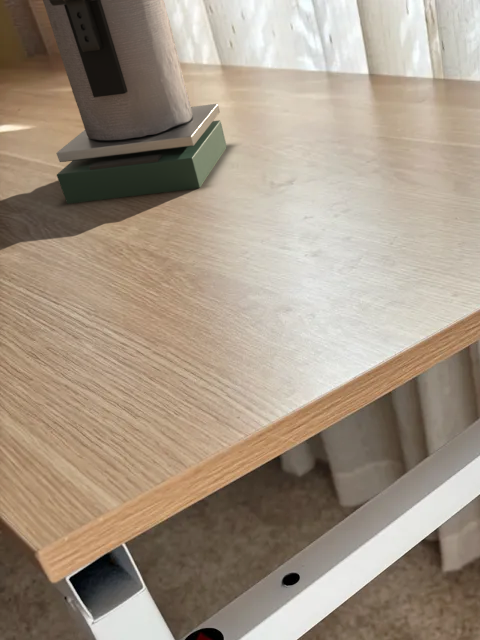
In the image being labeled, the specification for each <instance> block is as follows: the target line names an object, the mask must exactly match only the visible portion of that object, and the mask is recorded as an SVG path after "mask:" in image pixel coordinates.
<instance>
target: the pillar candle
mask: <svg viewBox="0 0 480 640" xmlns="http://www.w3.org/2000/svg"><path fill="white" fill-rule="evenodd" d="M42 2H43V5H44V8H45V11H46V14H47V17H48V21H49V24H50V27H51V29H52V33H53V37H54V39H55V42H56V45H57V49H58V51H59V55H60V57H61V60H62V64H63V68H64V70H65V73H66V76H67V79H68V82H69V85H70V88H71V92H72V95H73V98H74V101H75V103H76V106H77V109H78V112H79V115H80V118H81V121H82V124H83V128H84V130H85V131H86V134H87V136H88V137H89V138H90V139H97V140H122V139H129V138H136V137H143V136H146V135H153V134H157V133H160V132H162V131H166V130H168V129H170V128H172V127H174V126H177V125H180V124H183V123H186V122H188V121H190V120H191V118H192V110H191V107H192V106H191V101H190V98H189V94H188V91H187V87H186V83H185V78H184V75H183V70H182V67H181V62H180V58H179V54H178V51H177V50H178V49H177V46H176V42H175V38H174V34H173V29H172V26H171V22H170V19H169V15H168V12H167V8H166V4H165V0H101V3H102V7H103V10H104V13H105V17H106V20H107V24H108V27H109V30H110V34H111V37H112V40H113V44H114V47H115V51H116V54H117V57H118V61H119V64H120V67H121V71H122V74H123V77H124V81H125V84H126V88H127V91H128V92H126V93H124V94H117V95H109V96H101V97H94V96H93V93H92V90H91V87H90V84H89V81H88V78H87V75H86V72H85V69H84V65H83V62H82V59H81V56H80V53H79V50H78V47H77V44H76V41H75V38H74V34H73V31H72V28H71V25H70V22H69V19H68V16H67V13H66V10H65V6H64V5H65V4H64V5H57V6H53V5H52V4H51V3H50V1H49V0H42Z"/></svg>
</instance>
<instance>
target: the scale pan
mask: <svg viewBox="0 0 480 640" xmlns="http://www.w3.org/2000/svg"><path fill="white" fill-rule="evenodd" d="M191 110H192V118H191V120H190V121H188V122H186V123H183V124H180V125H177V126H174V127H172V128H170V129H168V130H166V131H162V132H160V133H157V134H153V135H146V136H143V137H136V138H129V139H122V140H97V139H90V138H89V137H88V136H87V134H86V131H85V129H83V130H82V131H81V132H80V133H79V134H77V135H76V136H74V138H73V139H72V140H70V141H69V142H67V144H65V145H64V146H63V147H61V148H60V149H59V150H58V151H57V152H56V157H57V160H58V162H59V163H65V162H72V161H75V160H83V159H91V158H99V157H107V156H115V155H123V154H132V153H140V152H148V151H156V150H164V149H172V148H180V147H188V146H194V145H195V143H196V142H197V141H198V139H199V138H200V137H201V136H202V134H203V133H204V132H205V131H206V129H207V128H208V127H209V125H210V124H211V123H212V122H213V121H215V120H216V118H217V117H218V115H219V114H220V113H221V111H220V110H221V109H220V106H219V104H218V103H212V104H211V103H210V104H202V105H196V106H191Z"/></svg>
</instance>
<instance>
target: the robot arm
mask: <svg viewBox="0 0 480 640" xmlns="http://www.w3.org/2000/svg"><path fill="white" fill-rule="evenodd" d="M49 1H50V3H51V4H52V5H53V6H57V5H64V4H65V5H64V6H65V10H66V13H67V16H68V19H69V22H70V25H71V28H72V31H73V34H74V38H75V41H76V44H77V47H78V50H79V53H80V56H81V59H82V62H83V65H84V69H85V72H86V75H87V78H88V81H89V84H90V87H91V90H92V93H93V96H94V97H101V96H109V95H117V94H124V93H126V92H128V91H127V88H126V84H125V81H124V77H123V74H122V71H121V67H120V64H119V61H118V57H117V54H116V51H115V47H114V44H113V40H112V37H111V34H110V30H109V27H108V24H107V20H106V17H105V13H104V10H103V7H102V3H101V0H49Z"/></svg>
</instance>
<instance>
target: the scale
mask: <svg viewBox="0 0 480 640" xmlns="http://www.w3.org/2000/svg"><path fill="white" fill-rule="evenodd" d="M225 137H226V136H225V134H224V129H223V125H222V120H219V119H218V120H213V122H212V123H211V124H210V125H209V127H208V128H207V129H206V131H205V132H204V133H203V134H202V136H201V137H200V138H199V139H198V141H197V142H196V143H195V145H194V146H188V147H180V148H172V149H164V150H156V151H148V152H140V153H132V154H123V155H115V156H107V157H99V158H91V159H83V160H75V161H69V163H68V164H66V166H65V167H64V168H62V169H61V170H60V171H59V172H58V173H56V179H57V180H58V183H59V186H60V189H61V191H62V193H63V197H64V199H65V202H66V204H67V205H70V204H78V203H86V202H87V203H88V202H95V201H102V200H104V201H105V200H112V199H118V198H119V199H120V198H129V197H137V196H144V195H145V196H146V195H153V194H162V193H170V192H171V193H172V192H179V191H187V190H196V189H201V187H202V186H203V184H204V183H205V181H206V180H207V178H208V176H209V175H210V174H211V172H212V170H213V169H214V168H215V166H216V165H217V163H218V162H219V160H220V159H221V157H222V155H223V154H224V153H225V151H226V149H227V148H228V146H227V141H226V138H225Z"/></svg>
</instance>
